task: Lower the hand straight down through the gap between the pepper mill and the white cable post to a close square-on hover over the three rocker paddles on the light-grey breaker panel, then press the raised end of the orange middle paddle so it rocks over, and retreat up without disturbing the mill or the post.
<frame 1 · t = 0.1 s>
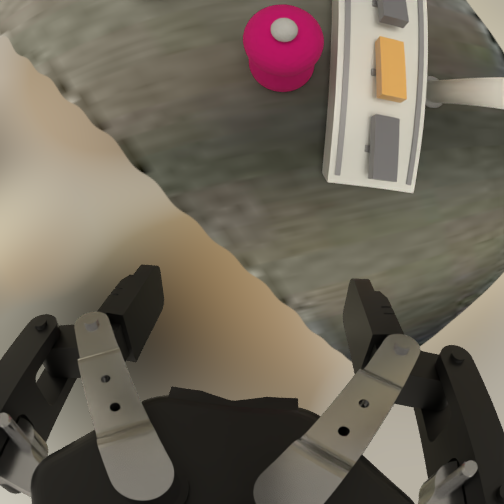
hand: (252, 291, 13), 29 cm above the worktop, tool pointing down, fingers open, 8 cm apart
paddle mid: (390, 69, 26), point 7 cm above the worktop, hinge at -13.0°
cable post: (429, 91, 32), on the worktop
paddle 1: (384, 148, 30), point 7 cm above the worktop, hinge at -13.0°
pepper mill: (281, 66, 34), on the worktop
breaker panel: (371, 78, 33), on the worktop
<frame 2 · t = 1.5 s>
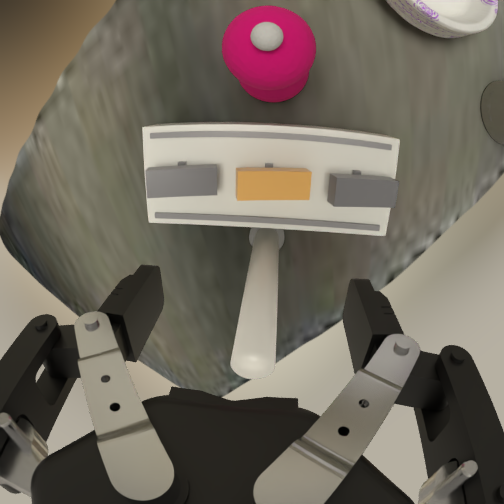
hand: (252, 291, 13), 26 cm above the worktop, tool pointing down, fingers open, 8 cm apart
paddle 2: (363, 190, 29), point 7 cm above the worktop, hinge at -13.0°
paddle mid: (273, 183, 30), point 7 cm above the worktop, hinge at -13.0°
cable post: (267, 235, 40), on the worktop
paddle 1: (181, 180, 30), point 7 cm above the worktop, hinge at -13.0°
pepper mill: (273, 73, 31), on the worktop
breaker panel: (270, 169, 36), on the worktop
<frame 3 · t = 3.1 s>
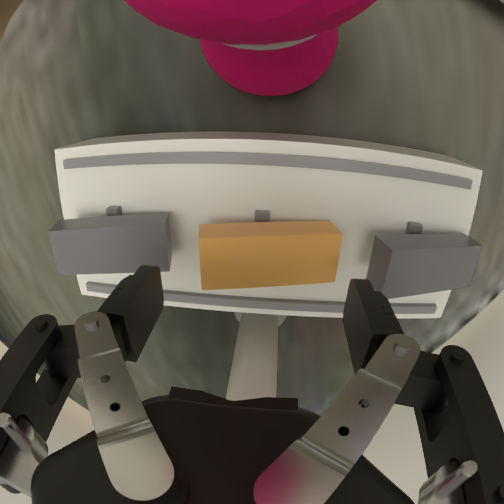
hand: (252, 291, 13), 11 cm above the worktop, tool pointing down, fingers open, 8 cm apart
paddle 2: (428, 263, 16), point 7 cm above the worktop, hinge at -13.0°
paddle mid: (269, 253, 16), point 7 cm above the worktop, hinge at -13.0°
cable post: (260, 305, 26), on the worktop
paddle 1: (110, 244, 17), point 7 cm above the worktop, hinge at -13.0°
pepper mill: (271, 49, 18), on the worktop
breaker panel: (265, 208, 23), on the worktop
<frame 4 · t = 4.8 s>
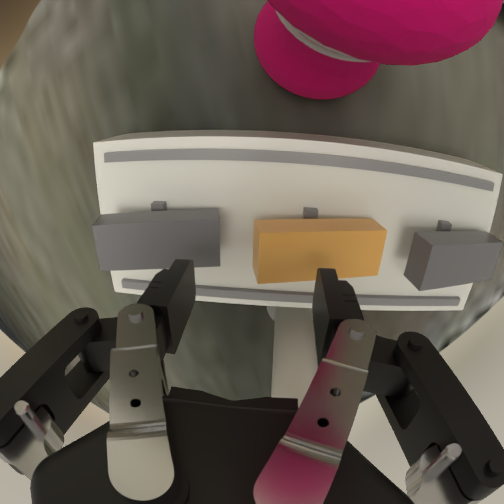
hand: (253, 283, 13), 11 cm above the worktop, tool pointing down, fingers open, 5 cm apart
paddle 2: (457, 258, 16), point 7 cm above the worktop, hinge at -13.0°
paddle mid: (319, 248, 17), point 7 cm above the worktop, hinge at -13.0°
cable post: (292, 301, 27), on the worktop
paddle 1: (157, 239, 17), point 7 cm above the worktop, hinge at -13.0°
pepper mill: (310, 53, 18), on the worktop
breaker panel: (302, 206, 23), on the worktop
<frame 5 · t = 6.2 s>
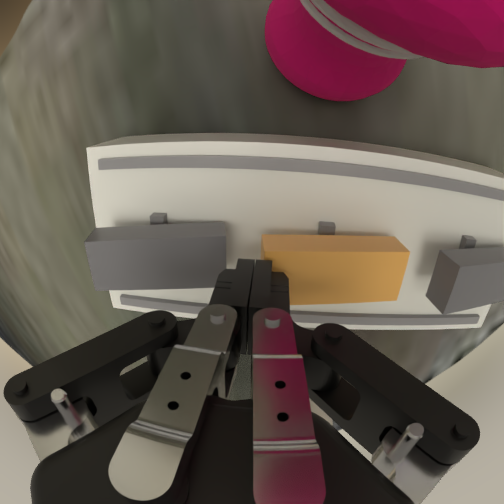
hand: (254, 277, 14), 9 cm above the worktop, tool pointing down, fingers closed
paddle 2: (482, 277, 14), point 7 cm above the worktop, hinge at -13.0°
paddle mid: (334, 269, 15), point 7 cm above the worktop, hinge at -8.0°, touching gripper
paddle 1: (157, 256, 16), point 7 cm above the worktop, hinge at -13.0°
pepper mill: (325, 50, 16), on the worktop
breaker panel: (315, 217, 21), on the worktop
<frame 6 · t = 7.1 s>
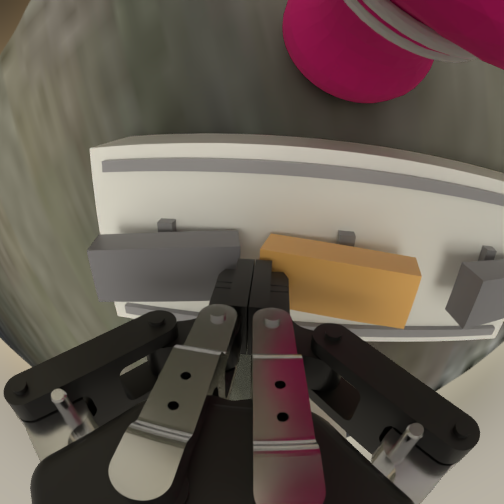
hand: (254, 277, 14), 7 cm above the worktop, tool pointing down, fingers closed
paddle 2: (501, 289, 13), point 7 cm above the worktop, hinge at -13.0°
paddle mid: (338, 281, 14), point 7 cm above the worktop, hinge at 11.4°, touching gripper
paddle 1: (165, 266, 15), point 7 cm above the worktop, hinge at -13.0°
pepper mill: (343, 48, 15), on the worktop
breaker panel: (330, 224, 20), on the worktop
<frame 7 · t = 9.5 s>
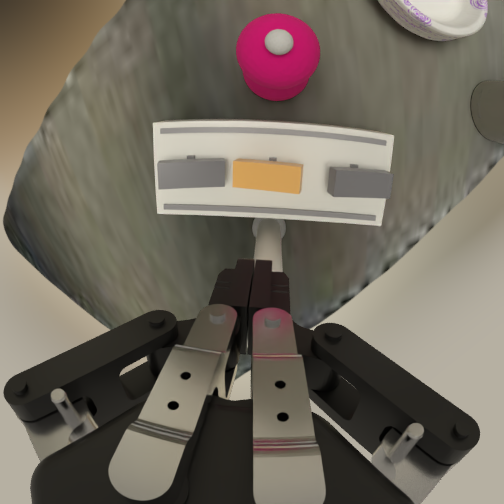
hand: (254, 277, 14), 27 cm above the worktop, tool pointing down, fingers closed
paddle 2: (361, 182, 31), point 7 cm above the worktop, hinge at -13.0°
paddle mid: (267, 175, 32), point 7 cm above the worktop, hinge at 12.2°
cable post: (269, 226, 42), on the worktop
paddle 1: (191, 173, 32), point 7 cm above the worktop, hinge at -13.0°
pepper mill: (276, 73, 33), on the worktop
breaker panel: (272, 163, 38), on the worktop
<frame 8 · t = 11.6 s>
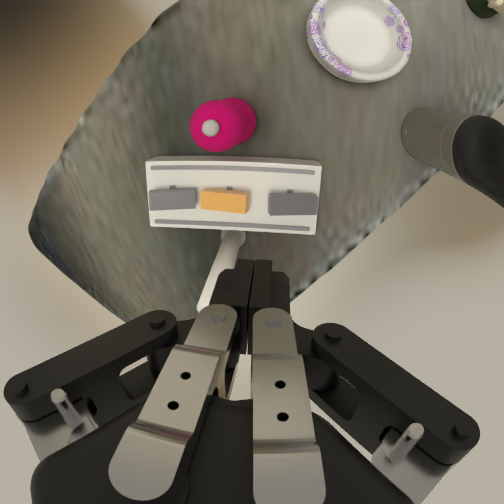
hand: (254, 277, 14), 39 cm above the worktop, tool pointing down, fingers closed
character mug: (477, 4, 31), on the worktop
paper bowls: (351, 41, 39), on the worktop
paddle 2: (292, 204, 45), point 7 cm above the worktop, hinge at -13.0°
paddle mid: (224, 200, 46), point 7 cm above the worktop, hinge at 12.2°
cable post: (233, 234, 56), on the worktop
paddle 1: (172, 199, 46), point 7 cm above the worktop, hinge at -13.0°
pepper mill: (235, 120, 47), on the worktop
breaker panel: (234, 188, 52), on the worktop
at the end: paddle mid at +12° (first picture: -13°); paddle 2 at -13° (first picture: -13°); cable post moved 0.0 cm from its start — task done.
